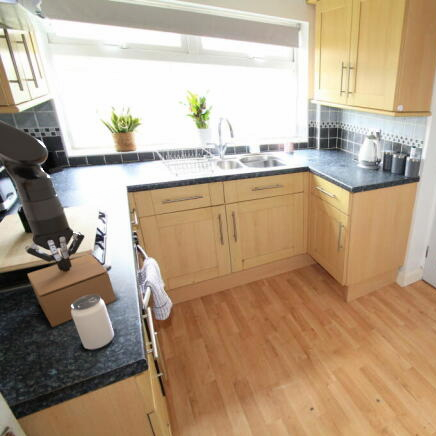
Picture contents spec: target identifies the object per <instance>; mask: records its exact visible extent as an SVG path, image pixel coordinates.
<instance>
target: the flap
mask: <svg viewBox="0 0 436 436" xmlns="http://www.w3.org/2000/svg"><path fill="white" fill-rule="evenodd" d="M70 262H71V265H72V267H71V268H70V270H68V271H65V272H64V271H63V270H59V268H58V266H57V264H54V265H53V264H52V265H50V266H48V267H44V268H41V269H38V270H35V271H32V272H29V273H27V277H28V276H29V277H28V279H29V278H30V280H31V282H32V284H35V283H38V282H41V281H44V280H47V279H50V278H53V277H56V276H58V275H61V274H64V273H67V272H70V271H73V270H76V269H79V268H82V267H85V266H88V265H91V264H94V263H97V262H99V261H98V259H96V258H95V256H94V255H93V254H92V253H89V254H88V253H87V254H86V255H83V256H82V255H81V256H79V257H75V258H73V259H70ZM30 280H29V281H30ZM31 282H30V283H31Z"/></svg>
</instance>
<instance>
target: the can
mask: <svg viewBox="0 0 436 436" xmlns="http://www.w3.org/2000/svg"><path fill="white" fill-rule="evenodd" d="M71 307H72V310H71V314H72V317H73V319H72V320H73V322H74V325H75V328H76V331H77V333H78V335H79V338H80V341H81V343H82V346H83V348H84V349H87V350H97V349H98V350H99V349H101V348H103V347H105V346H107V345H108V344H110V343H111V341H113V339H114V337H115V331H114V328H113V326H112V325H113V324H112V322H111V319H110V315H109V312H108V309H107V305H105V303H104V301H103V300H102V299H101V298H100V296H99V295H87V296H83V297H81V298H79V299H77V300H76V301H74V302H73V303H72V305H71Z"/></svg>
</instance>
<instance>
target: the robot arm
mask: <svg viewBox="0 0 436 436" xmlns="http://www.w3.org/2000/svg"><path fill="white" fill-rule="evenodd" d="M48 156H49V151H48V149H47V147H46V145H45V144H44V143H43V142H42V141H41V140H39V139H37V138H36V137H34V136H33V135H31V134H30V133H27V132H25V131H23V130H21V129H20V128H17V127H15V126H13V125H11V124H9V123H7V122H5V121H3V120H1V119H0V162H1V163H2V165H3V167H4V168H5V170H6V172H7V173H8V175H9V176H10V178H11V179H12V180H13V182H14V184H15V188H16V190H17V194H18V196H19V198H20V201H21V205H22V210H23V213H24V215H25V217H26V220H27V222H28V226H29V228H30V230H31V233H32V243H31V244H30V245H27V246H25V248H24V250H25V252H26V253H27V254H29V255H31V256H33V257H36V258H38V259H40V260H43V261H46V262H48V263H50V262H55V265H57V266H58V268H59V270H63V271H64V272H65V271H68V270H70V268H71V267H72V265H71V262H70V260H71V259H70V257H71V256H72V255H76V253H77V251H78V249H79V248H80V246H81V244H82V243H83V241H84V239H85V234H83V233H82V232H80V231H79V232H76V231H74V230H73V229H72V228H71V227H70V225H69V222H68V218H67V216H66V213H65V208H64V206H63V203H62V201H61V199H60V198H59V195H58V193H57V190H56V187H55V184H54V181H53V179H52V177H51V176H50V174H48V173H47V172H45V171H44V170H43V168H42V164H44V163H45V162H46V160H47V159H48ZM71 240H72V241H71ZM69 244H70V245H69ZM68 245H69V247H68ZM39 247H41V248H43V249H44V250H46V251H50V253H51V254H49V253H46V252H44V251H42V250H40V248H39ZM58 249H59V250H58ZM59 252H60V253H59Z"/></svg>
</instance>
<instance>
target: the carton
mask: <svg viewBox="0 0 436 436" xmlns="http://www.w3.org/2000/svg"><path fill="white" fill-rule="evenodd" d="M27 277H28V280H29V282H30V284H31V287H32V289H33V291H34V293H35V296H36V299H37V302H38V303H39V305H40V307H41V309H42V311H43V313H44V315H45V316H46V318H47V321H48V322H49V324H50V327H52V328H55V327H57V326H59V325H61V324H64V323H66V322H68V321H70V320H73V317H72V314H71V310H72V307H71V305H72V303H73V302H74V301H76V300H77V299H79V298H81V297H83V296H87V295H99V296H100V298H101V299H102V300H103V301H104V303H105V306H107V305H109V304H111V303H112V302H115V301H117V299H116V294H115V291H114V289H113V285H112V282H111V278H110V275H109V272H108V270H107V269H106V268H105V267H104V266H103V265H102V264H101V262H100V261H98V262H97V263H94V264H91V265H88V266H85V267H82V268H79V269H76V270H73V271H70V272H67V273H64V274H61V275H58V276H56V277H53V278H50V279H47V280H44V281H41V282H38V283H35V284H32V282H31V280H30V278H29V276H28V275H27Z"/></svg>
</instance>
